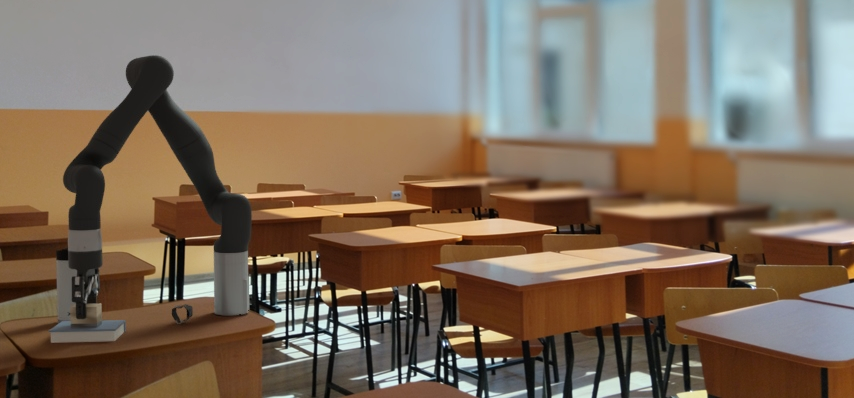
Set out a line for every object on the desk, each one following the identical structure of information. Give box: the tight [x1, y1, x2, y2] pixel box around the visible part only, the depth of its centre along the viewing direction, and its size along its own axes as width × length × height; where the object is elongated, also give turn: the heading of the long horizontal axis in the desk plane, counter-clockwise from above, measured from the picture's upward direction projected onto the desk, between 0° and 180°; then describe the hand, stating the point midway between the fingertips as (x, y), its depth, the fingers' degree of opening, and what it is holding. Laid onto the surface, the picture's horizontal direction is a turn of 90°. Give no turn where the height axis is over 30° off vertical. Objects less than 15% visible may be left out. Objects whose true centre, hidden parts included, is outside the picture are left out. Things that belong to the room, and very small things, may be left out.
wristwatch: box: [171, 303, 194, 325], centre depth 209 cm, size 3×5×5 cm, turn 77°
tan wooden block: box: [70, 302, 103, 328], centre depth 192 cm, size 6×4×5 cm, turn 96°
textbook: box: [48, 319, 127, 344], centre depth 193 cm, size 15×10×4 cm, turn 97°
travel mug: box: [55, 247, 81, 324], centre depth 208 cm, size 6×7×20 cm
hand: (86, 315), depth 192 cm, fingers open, 8 cm apart
